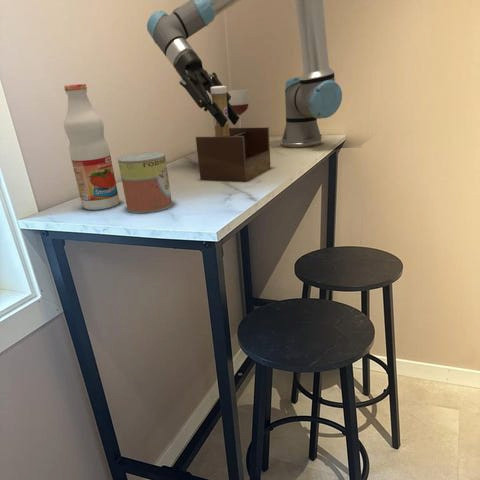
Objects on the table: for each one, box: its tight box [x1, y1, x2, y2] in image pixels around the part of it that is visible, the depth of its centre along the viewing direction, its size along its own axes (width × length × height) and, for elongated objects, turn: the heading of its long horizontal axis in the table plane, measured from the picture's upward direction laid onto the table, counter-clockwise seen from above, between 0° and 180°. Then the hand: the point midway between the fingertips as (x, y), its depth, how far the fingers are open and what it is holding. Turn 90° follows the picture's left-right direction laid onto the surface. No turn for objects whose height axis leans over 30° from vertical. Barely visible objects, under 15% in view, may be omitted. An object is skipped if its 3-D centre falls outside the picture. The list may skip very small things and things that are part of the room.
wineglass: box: [227, 88, 250, 128], centre depth 185 cm, size 8×9×20 cm
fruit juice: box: [63, 83, 120, 211], centre depth 113 cm, size 9×9×28 cm
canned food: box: [117, 151, 173, 214], centre depth 112 cm, size 11×11×12 cm
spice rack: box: [195, 126, 271, 183], centre depth 138 cm, size 18×15×12 cm
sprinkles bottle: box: [210, 85, 230, 137], centre depth 134 cm, size 5×5×13 cm
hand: (230, 122), depth 133 cm, fingers closed on sprinkles bottle, 4 cm apart
